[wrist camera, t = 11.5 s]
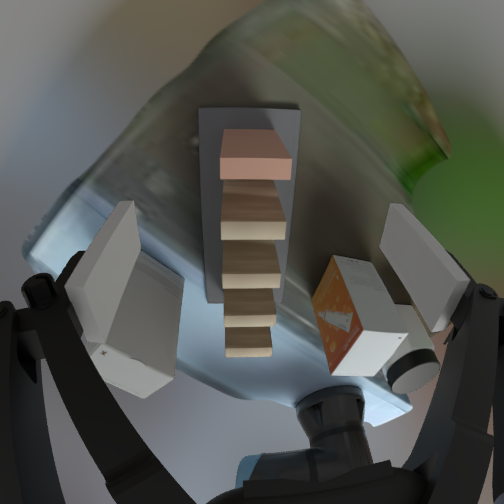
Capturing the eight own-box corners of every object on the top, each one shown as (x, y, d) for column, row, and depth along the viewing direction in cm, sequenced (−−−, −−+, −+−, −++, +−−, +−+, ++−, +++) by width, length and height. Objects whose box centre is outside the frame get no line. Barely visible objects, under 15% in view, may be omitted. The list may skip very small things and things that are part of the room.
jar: (357, 337, 49) (378, 397, 39) (378, 301, 45) (407, 363, 35) (399, 337, 50) (423, 391, 41) (421, 304, 46) (452, 359, 36)
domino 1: (274, 144, 30) (290, 179, 22) (224, 144, 30) (220, 179, 22) (274, 129, 30) (292, 158, 21) (224, 129, 29) (220, 157, 21)
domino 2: (271, 190, 33) (284, 239, 25) (224, 189, 33) (221, 239, 25) (272, 176, 32) (286, 221, 24) (224, 175, 32) (220, 221, 24)
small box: (331, 253, 39) (363, 329, 28) (372, 261, 40) (411, 332, 30) (309, 300, 43) (329, 376, 33) (348, 305, 45) (375, 377, 34)
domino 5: (263, 296, 42) (271, 356, 33) (225, 296, 41) (225, 357, 33) (264, 287, 41) (272, 347, 32) (225, 287, 40) (225, 348, 32)
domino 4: (266, 266, 39) (275, 326, 31) (225, 266, 39) (224, 327, 30) (266, 255, 38) (276, 315, 30) (224, 255, 38) (223, 315, 29)
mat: (281, 299, 43) (281, 302, 42) (207, 300, 42) (207, 303, 42) (299, 109, 29) (301, 110, 29) (199, 107, 28) (198, 108, 28)
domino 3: (268, 230, 36) (279, 287, 28) (224, 230, 36) (222, 288, 27) (269, 218, 35) (281, 273, 27) (224, 218, 35) (222, 274, 27)
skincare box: (112, 272, 39) (74, 367, 26) (136, 241, 37) (97, 340, 24) (161, 305, 43) (142, 402, 30) (189, 278, 40) (175, 381, 27)
